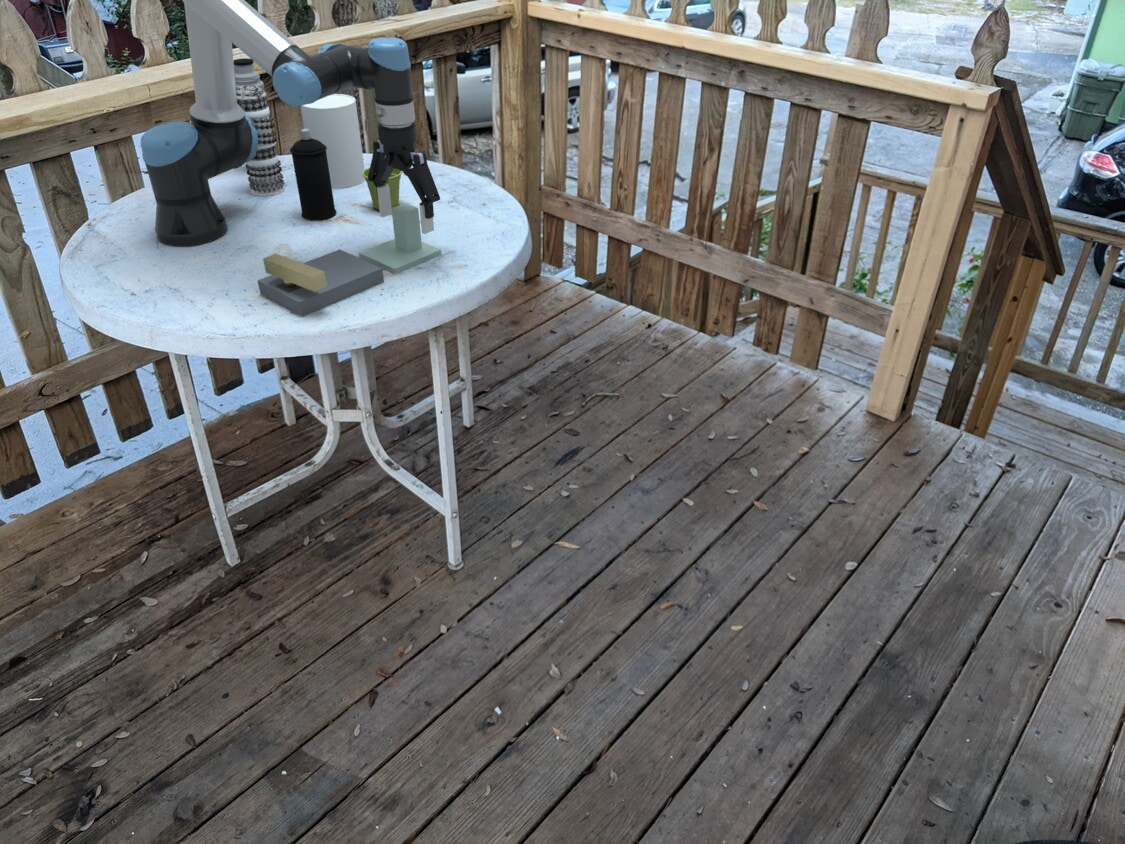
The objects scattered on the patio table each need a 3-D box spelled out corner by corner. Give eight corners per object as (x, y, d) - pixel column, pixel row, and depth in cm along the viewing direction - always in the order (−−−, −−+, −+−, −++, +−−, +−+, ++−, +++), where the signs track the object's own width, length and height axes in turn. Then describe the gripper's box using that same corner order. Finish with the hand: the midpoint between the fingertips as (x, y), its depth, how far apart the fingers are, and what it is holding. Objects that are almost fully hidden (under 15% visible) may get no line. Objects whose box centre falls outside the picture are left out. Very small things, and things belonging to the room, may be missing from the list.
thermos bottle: (243, 169, 230) (219, 59, 214) (270, 162, 234) (249, 54, 218) (257, 177, 225) (235, 65, 209) (285, 170, 230) (264, 59, 214)
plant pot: (402, 214, 205) (398, 178, 200) (363, 213, 205) (358, 178, 200) (408, 199, 213) (405, 165, 208) (371, 199, 213) (366, 164, 208)
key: (316, 299, 162) (312, 277, 159) (267, 280, 168) (263, 258, 165) (328, 294, 164) (324, 271, 161) (279, 275, 170) (275, 253, 167)
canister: (369, 170, 230) (359, 93, 218) (360, 188, 219) (350, 108, 207) (319, 170, 230) (306, 93, 218) (307, 188, 219) (294, 108, 207)
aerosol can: (338, 218, 202) (325, 133, 191) (302, 222, 200) (287, 136, 189) (335, 206, 209) (322, 123, 197) (300, 209, 207) (285, 126, 195)
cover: (359, 259, 185) (353, 212, 179) (405, 241, 193) (400, 196, 187) (395, 275, 179) (390, 227, 172) (441, 255, 187) (437, 210, 180)
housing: (260, 294, 170) (257, 279, 169) (341, 262, 183) (339, 248, 181) (301, 316, 163) (298, 301, 161) (383, 281, 175) (382, 267, 174)
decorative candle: (241, 191, 217) (219, 89, 202) (270, 181, 223) (251, 81, 208) (265, 199, 212) (244, 95, 198) (294, 188, 218) (275, 87, 204)
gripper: (342, 114, 175) (356, 213, 188) (423, 140, 162) (432, 244, 174) (371, 107, 180) (383, 204, 192) (452, 131, 167) (459, 233, 179)
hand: (406, 223), depth 183 cm, fingers open, 13 cm apart
